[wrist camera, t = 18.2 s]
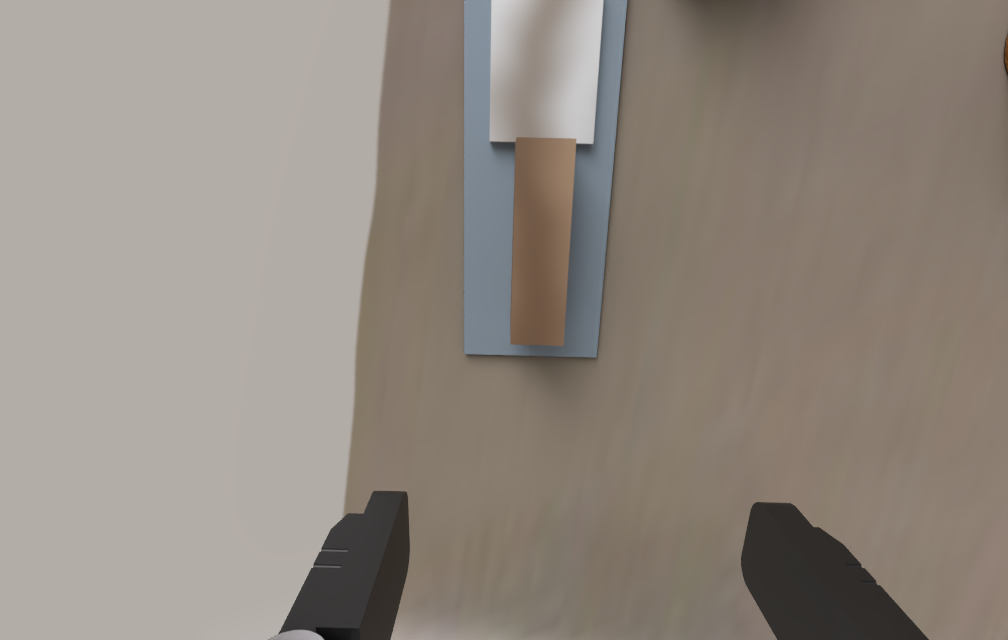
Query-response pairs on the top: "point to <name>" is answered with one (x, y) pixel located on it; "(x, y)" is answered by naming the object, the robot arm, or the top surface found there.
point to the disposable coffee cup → (1006, 54)
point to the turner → (543, 144)
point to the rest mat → (495, 198)
